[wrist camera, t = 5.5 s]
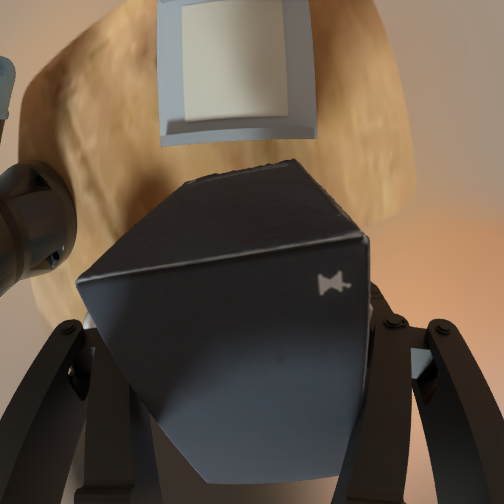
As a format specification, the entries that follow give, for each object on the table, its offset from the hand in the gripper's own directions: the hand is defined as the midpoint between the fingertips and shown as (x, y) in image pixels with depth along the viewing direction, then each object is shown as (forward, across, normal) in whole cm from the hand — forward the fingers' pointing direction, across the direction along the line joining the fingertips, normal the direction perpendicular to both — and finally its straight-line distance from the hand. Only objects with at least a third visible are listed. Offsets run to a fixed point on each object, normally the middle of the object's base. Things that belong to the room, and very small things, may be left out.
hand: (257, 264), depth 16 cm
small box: (+1, 0, 0) cm, 1 cm away
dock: (+15, -2, +14) cm, 21 cm away
